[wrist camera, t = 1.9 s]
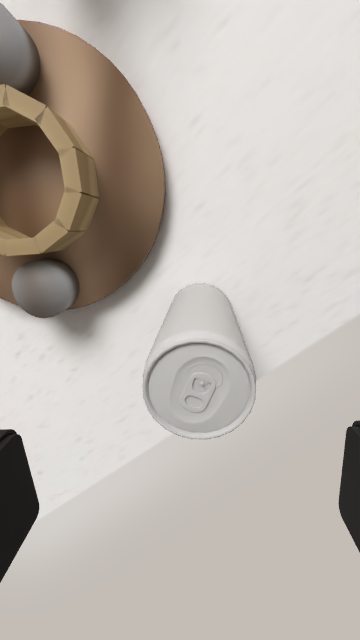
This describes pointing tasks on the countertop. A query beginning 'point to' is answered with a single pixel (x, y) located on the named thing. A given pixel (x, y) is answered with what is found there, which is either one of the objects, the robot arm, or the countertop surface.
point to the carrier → (71, 171)
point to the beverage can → (199, 367)
